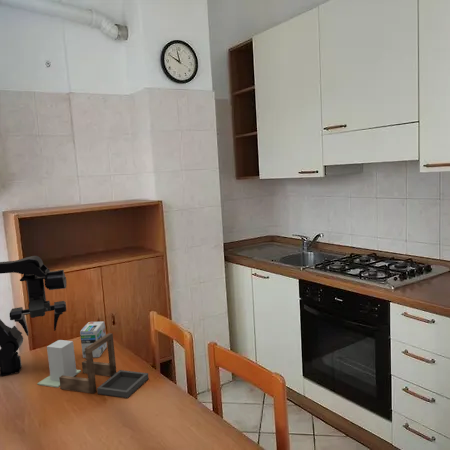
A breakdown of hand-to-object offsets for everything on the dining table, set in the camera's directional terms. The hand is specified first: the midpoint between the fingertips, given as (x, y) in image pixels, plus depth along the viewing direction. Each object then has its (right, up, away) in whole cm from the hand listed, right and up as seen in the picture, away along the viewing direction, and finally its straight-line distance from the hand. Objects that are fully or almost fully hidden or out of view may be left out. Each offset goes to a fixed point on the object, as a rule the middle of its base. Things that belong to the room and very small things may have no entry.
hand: (41, 332), depth 165 cm
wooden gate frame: (+21, -14, -12) cm, 28 cm away
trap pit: (+34, -13, -17) cm, 40 cm away
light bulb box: (+16, -11, +12) cm, 23 cm away
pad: (+10, -14, -8) cm, 19 cm away
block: (+11, -13, -9) cm, 19 cm away
